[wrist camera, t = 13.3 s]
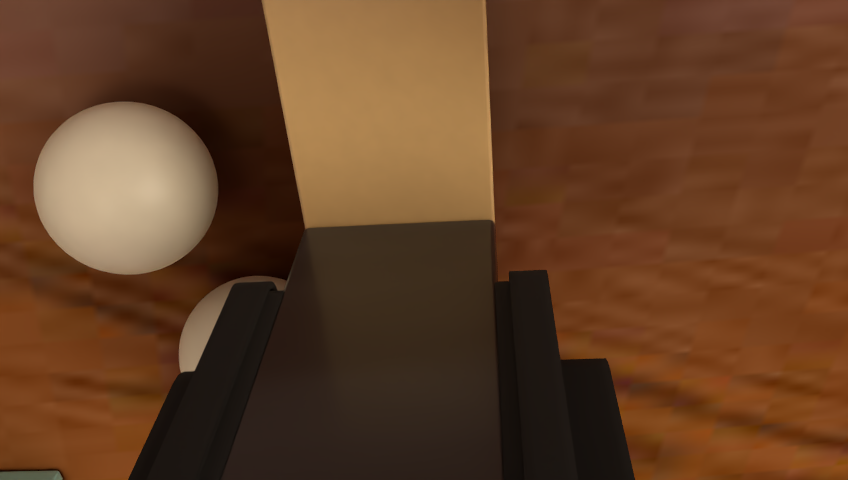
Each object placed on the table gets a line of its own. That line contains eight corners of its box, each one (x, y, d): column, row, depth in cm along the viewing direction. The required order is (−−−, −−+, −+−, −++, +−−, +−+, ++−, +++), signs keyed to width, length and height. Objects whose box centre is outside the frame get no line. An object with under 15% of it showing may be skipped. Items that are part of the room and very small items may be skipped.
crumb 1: (-9, 162, 12) (201, 122, 13) (19, 95, 15) (191, 65, 15) (59, 326, 14) (242, 283, 14) (73, 240, 16) (227, 206, 17)
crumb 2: (352, 266, 16) (237, 234, 18) (247, 361, 14) (125, 315, 15) (372, 382, 18) (266, 344, 19) (281, 483, 15) (169, 431, 17)
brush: (291, -112, 12) (-88, 179, 4) (478, -128, 12) (499, 148, 4) (377, 428, 19) (300, 984, 10) (502, 425, 18) (529, 993, 10)
